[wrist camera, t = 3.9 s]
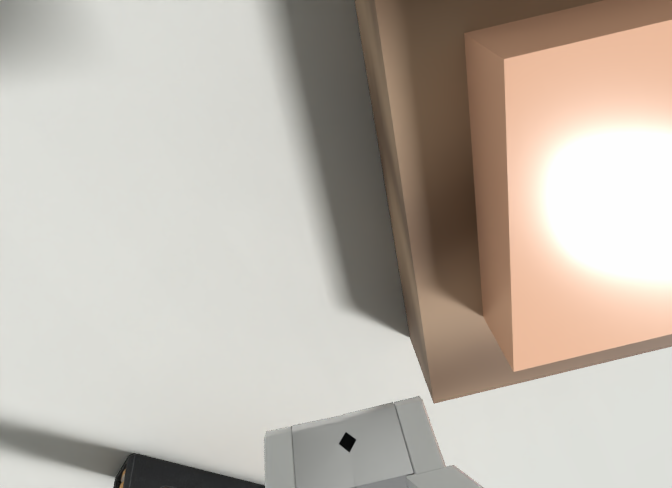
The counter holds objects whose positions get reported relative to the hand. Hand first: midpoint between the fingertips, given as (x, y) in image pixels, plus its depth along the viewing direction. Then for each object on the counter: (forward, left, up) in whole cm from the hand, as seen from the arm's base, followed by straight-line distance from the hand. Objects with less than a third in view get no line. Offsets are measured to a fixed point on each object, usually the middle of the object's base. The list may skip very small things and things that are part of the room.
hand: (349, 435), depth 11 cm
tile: (-1, +8, -5) cm, 9 cm away
